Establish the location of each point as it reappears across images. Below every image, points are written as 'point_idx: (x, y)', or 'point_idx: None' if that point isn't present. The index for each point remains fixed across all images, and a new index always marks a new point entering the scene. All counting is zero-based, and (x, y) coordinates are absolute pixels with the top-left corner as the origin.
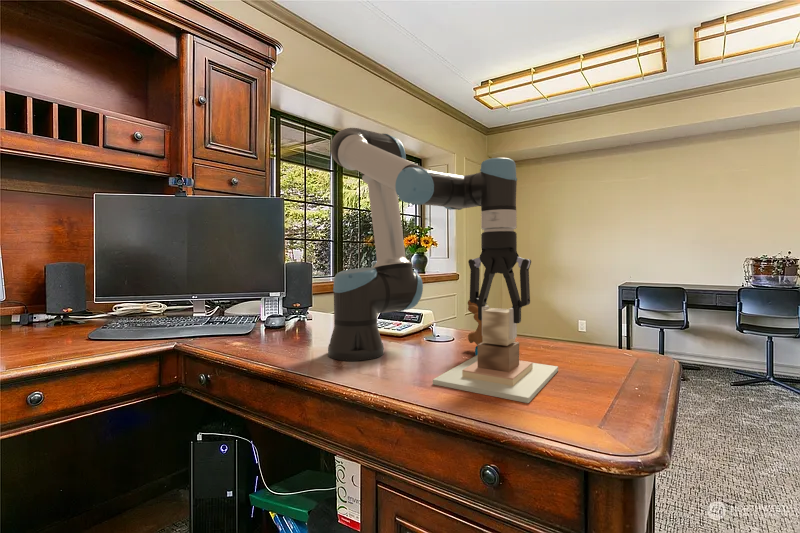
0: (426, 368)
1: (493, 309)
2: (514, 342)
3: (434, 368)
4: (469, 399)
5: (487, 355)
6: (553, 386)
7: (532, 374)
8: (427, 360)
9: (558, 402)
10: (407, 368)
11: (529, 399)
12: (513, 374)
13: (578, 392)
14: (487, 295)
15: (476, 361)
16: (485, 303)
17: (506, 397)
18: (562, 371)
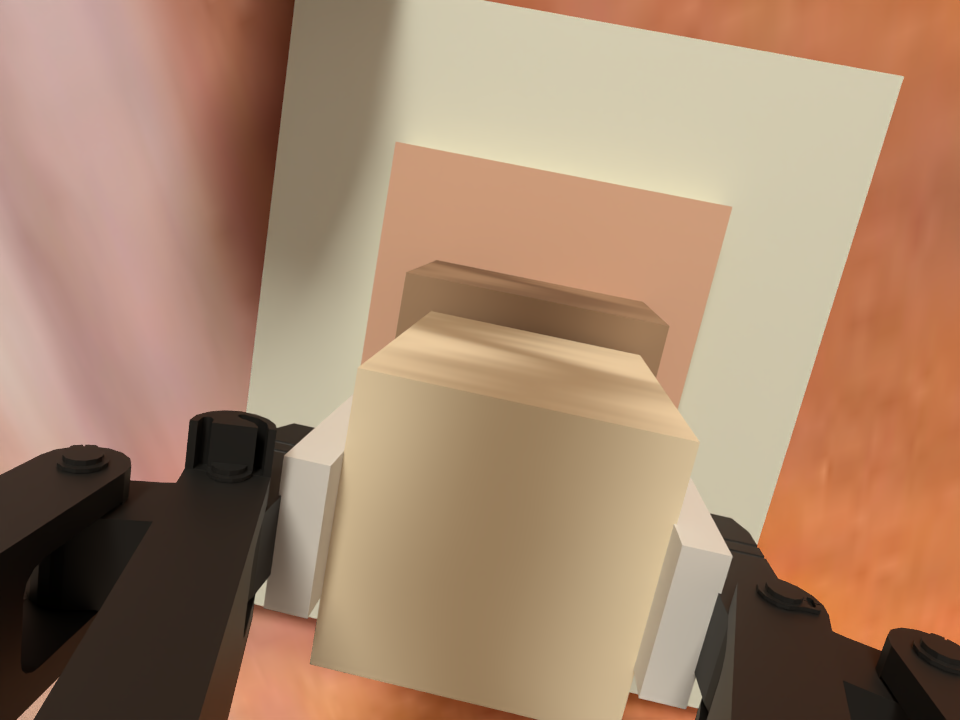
0: (96, 338)
1: (409, 512)
2: (630, 343)
3: (136, 322)
4: (448, 714)
5: None
6: (828, 425)
7: (720, 339)
8: (25, 161)
9: None
10: (5, 375)
11: None
12: None
13: (954, 480)
14: (246, 583)
15: (339, 165)
16: (267, 499)
17: None
18: (916, 85)
